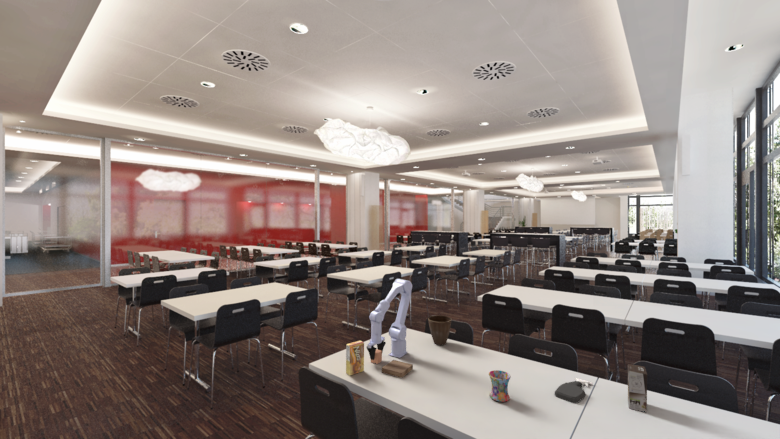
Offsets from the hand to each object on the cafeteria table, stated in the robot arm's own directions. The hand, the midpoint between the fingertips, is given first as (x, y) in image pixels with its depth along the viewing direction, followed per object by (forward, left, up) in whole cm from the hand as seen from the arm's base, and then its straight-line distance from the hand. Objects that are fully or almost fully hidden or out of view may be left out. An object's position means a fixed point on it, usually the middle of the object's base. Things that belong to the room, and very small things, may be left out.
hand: (376, 357), depth 195 cm
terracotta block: (0, 0, -3) cm, 3 cm away
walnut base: (+4, +16, -3) cm, 17 cm away
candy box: (+17, -2, -3) cm, 17 cm away
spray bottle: (-21, +97, -3) cm, 100 cm away
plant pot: (-45, +19, -3) cm, 49 cm away
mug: (+3, +69, -3) cm, 69 cm away
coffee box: (-20, +121, -3) cm, 123 cm away
